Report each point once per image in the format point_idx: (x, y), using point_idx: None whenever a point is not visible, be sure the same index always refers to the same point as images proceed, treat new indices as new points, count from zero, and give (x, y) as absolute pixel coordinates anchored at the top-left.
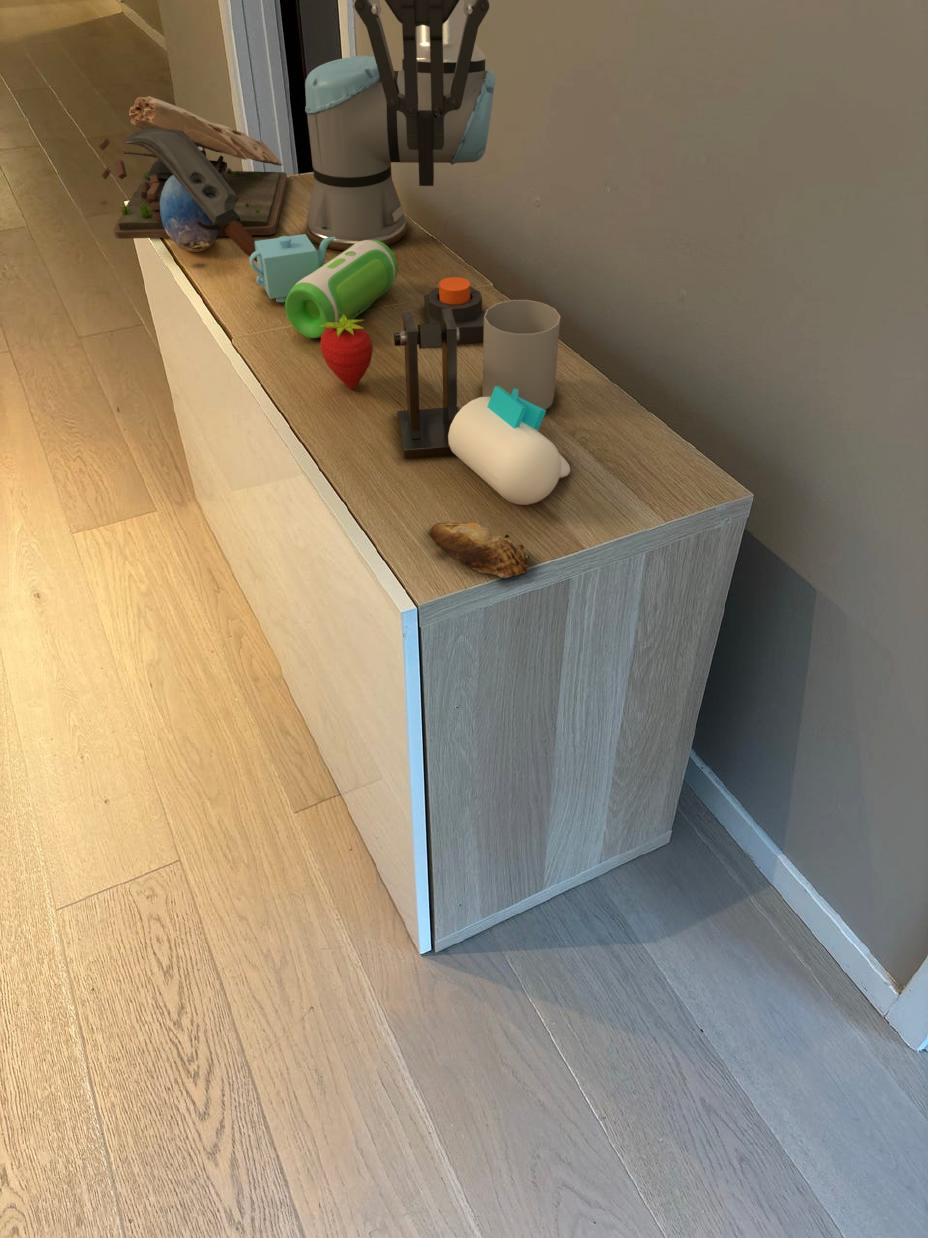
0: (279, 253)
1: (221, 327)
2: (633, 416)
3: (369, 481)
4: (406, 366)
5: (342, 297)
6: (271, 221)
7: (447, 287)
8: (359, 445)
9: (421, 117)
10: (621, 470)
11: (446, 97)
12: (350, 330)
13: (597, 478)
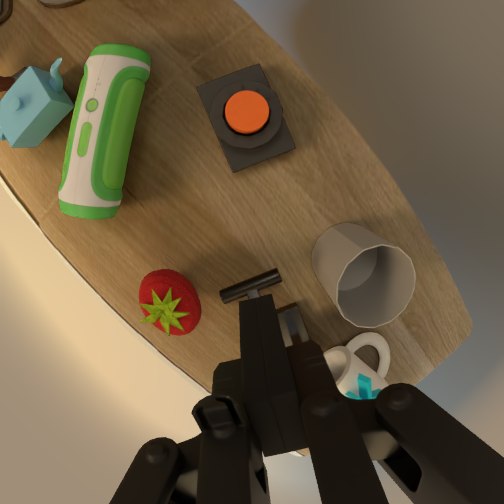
0: (19, 127)
1: (22, 205)
2: (434, 260)
3: None
4: None
5: (114, 183)
6: (5, 4)
7: (240, 124)
8: (224, 361)
9: (275, 448)
10: (420, 332)
11: (368, 452)
12: (177, 324)
13: (404, 345)
